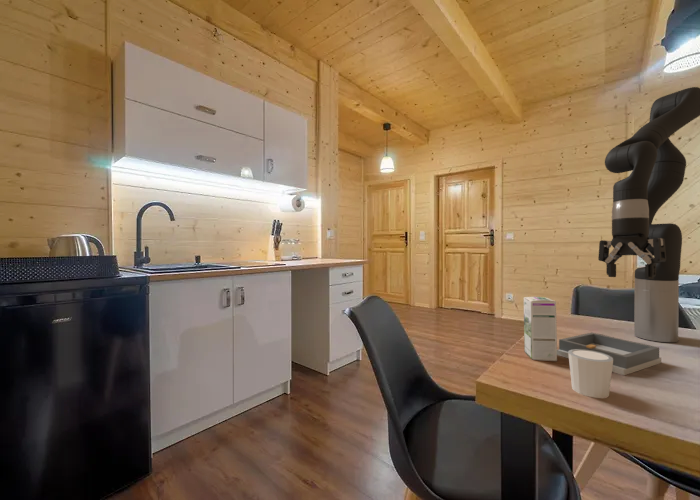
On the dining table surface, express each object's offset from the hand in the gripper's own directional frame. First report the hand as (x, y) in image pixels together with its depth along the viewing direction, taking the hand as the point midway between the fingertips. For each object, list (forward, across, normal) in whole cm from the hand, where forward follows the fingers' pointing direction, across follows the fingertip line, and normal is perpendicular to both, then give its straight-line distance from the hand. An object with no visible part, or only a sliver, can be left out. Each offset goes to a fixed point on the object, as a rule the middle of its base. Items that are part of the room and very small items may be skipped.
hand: (629, 277), depth 85 cm
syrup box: (+20, +3, +28) cm, 35 cm away
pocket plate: (+19, -3, +15) cm, 24 cm away
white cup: (+21, -13, +36) cm, 43 cm away
